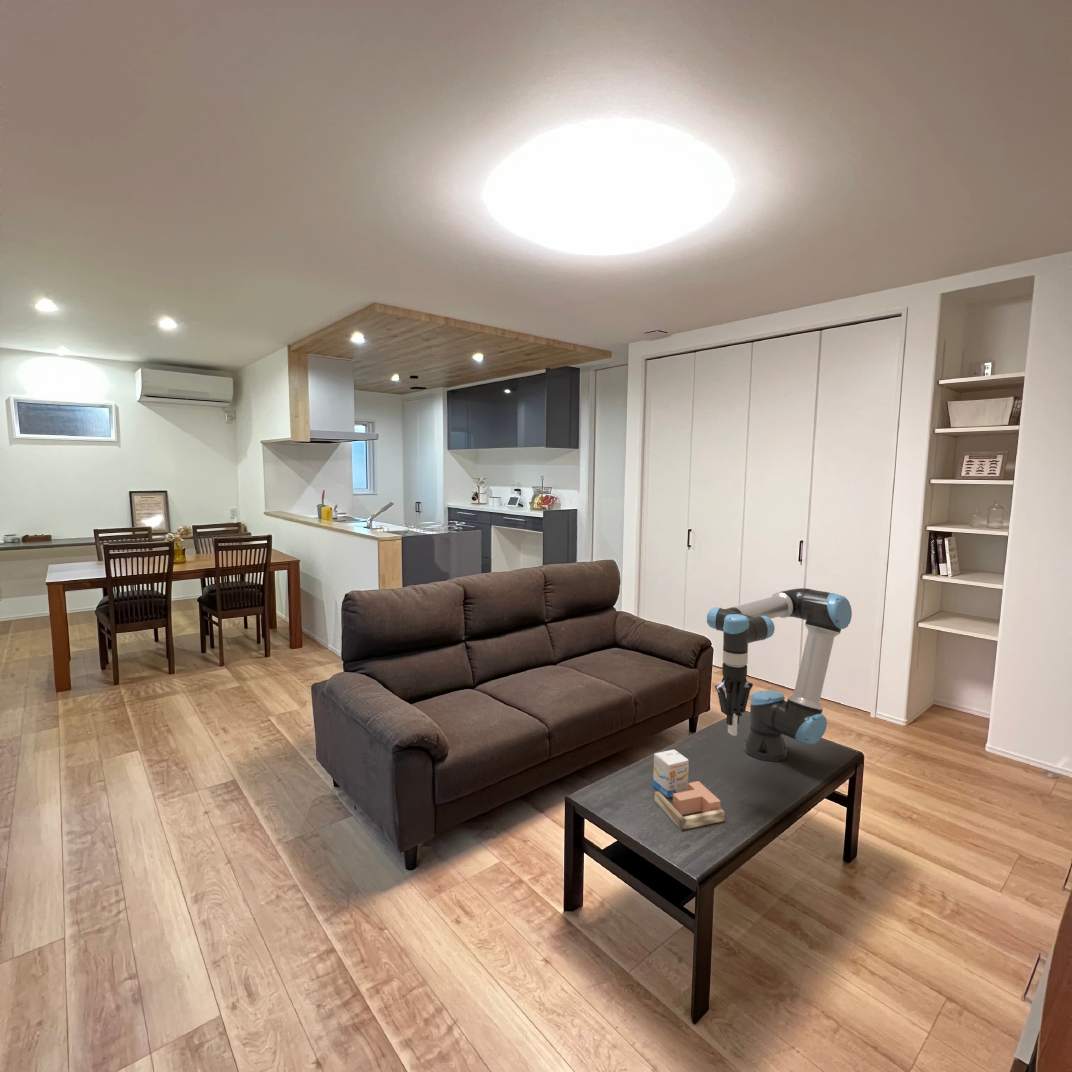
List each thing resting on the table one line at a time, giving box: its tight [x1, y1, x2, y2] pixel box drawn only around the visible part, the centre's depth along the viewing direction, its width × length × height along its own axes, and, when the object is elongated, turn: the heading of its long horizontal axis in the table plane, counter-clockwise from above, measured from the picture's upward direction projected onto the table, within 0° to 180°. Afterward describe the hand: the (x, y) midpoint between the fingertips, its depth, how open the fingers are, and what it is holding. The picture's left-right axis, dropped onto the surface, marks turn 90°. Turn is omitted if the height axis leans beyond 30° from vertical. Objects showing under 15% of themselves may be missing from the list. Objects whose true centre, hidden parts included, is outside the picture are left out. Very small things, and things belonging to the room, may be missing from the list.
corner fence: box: [654, 790, 726, 831], centre depth 180 cm, size 15×16×3 cm
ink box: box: [652, 749, 690, 799], centre depth 191 cm, size 9×8×12 cm
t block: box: [672, 780, 722, 816], centre depth 181 cm, size 12×12×5 cm
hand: (732, 733), depth 185 cm, fingers closed
